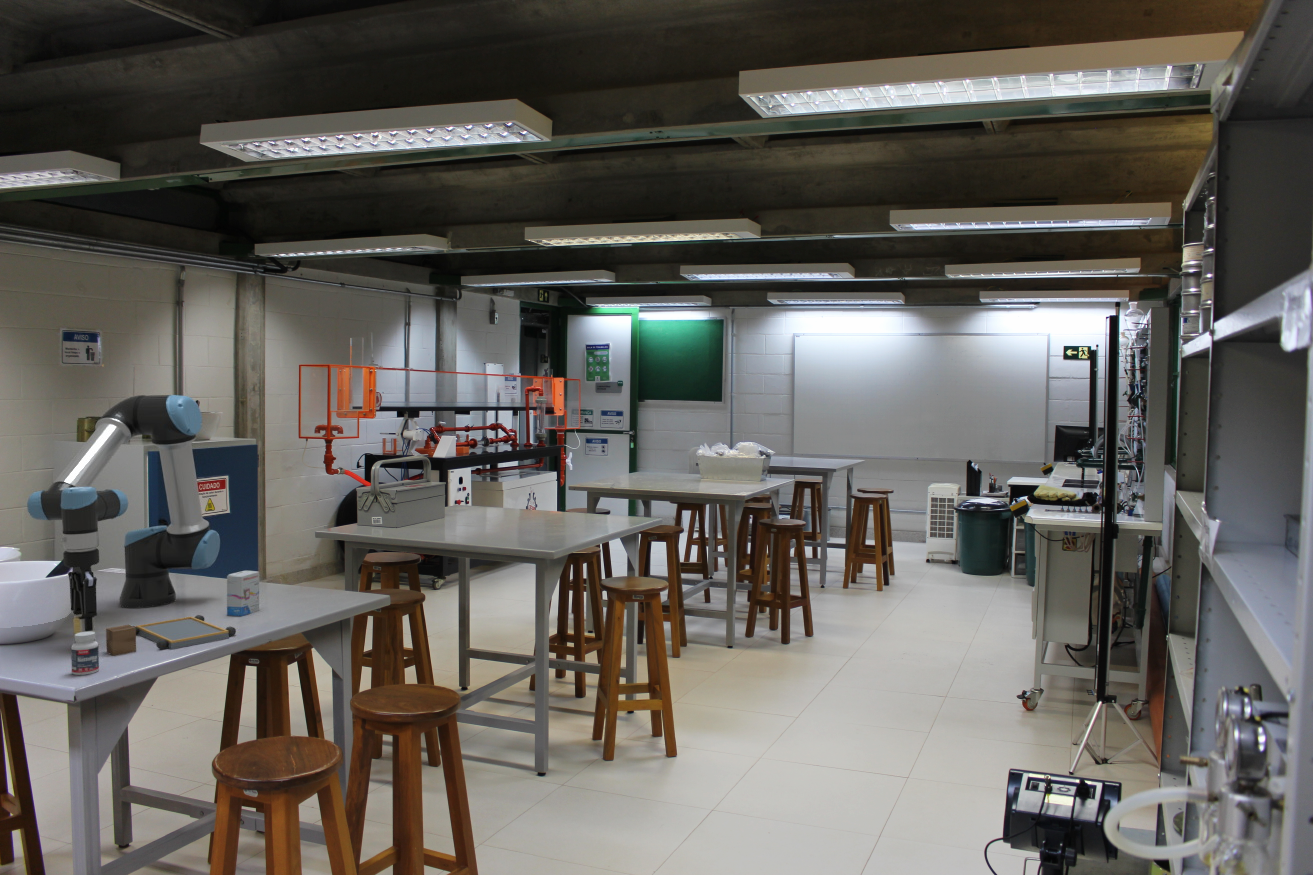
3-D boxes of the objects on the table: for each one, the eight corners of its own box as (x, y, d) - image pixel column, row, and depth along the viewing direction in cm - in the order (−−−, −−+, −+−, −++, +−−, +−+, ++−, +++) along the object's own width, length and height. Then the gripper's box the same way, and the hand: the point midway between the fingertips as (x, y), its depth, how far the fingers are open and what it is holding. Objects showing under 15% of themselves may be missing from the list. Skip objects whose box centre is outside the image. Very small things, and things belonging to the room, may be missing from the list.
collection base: (125, 635, 240) (125, 626, 240) (200, 621, 255) (200, 613, 254) (160, 651, 224) (160, 641, 224) (238, 636, 239) (238, 627, 238)
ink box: (241, 616, 261) (240, 575, 260) (226, 615, 262) (225, 575, 261) (260, 610, 269) (259, 570, 269) (245, 609, 270) (244, 569, 270)
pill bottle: (76, 676, 204) (74, 637, 203) (68, 672, 207) (67, 633, 207) (102, 671, 208) (101, 633, 207) (94, 667, 211) (93, 629, 211)
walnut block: (106, 652, 224) (106, 628, 224) (129, 648, 228) (128, 624, 228) (113, 656, 221) (113, 631, 220) (136, 651, 224) (135, 627, 224)
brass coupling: (72, 644, 228) (70, 617, 228) (91, 641, 231) (90, 614, 231) (77, 648, 225) (76, 620, 225) (97, 644, 228) (96, 616, 228)
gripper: (53, 547, 230) (57, 638, 231) (74, 555, 218) (78, 651, 220) (86, 543, 235) (90, 632, 237) (109, 551, 224) (113, 644, 225)
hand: (84, 641), depth 228 cm, fingers closed on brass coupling, 4 cm apart
